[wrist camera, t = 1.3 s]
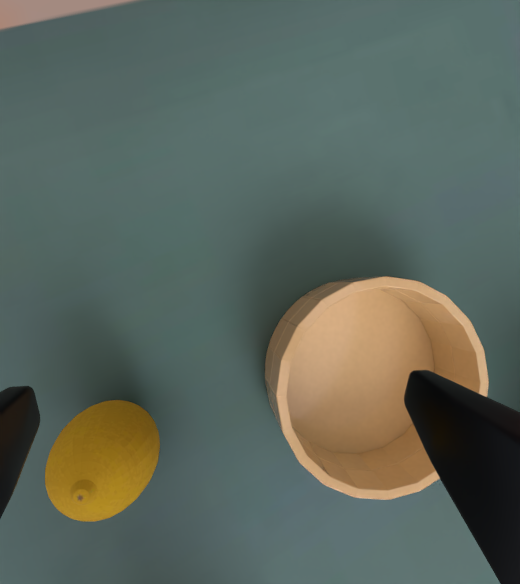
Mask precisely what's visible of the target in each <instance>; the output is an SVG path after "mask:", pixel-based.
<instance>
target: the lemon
mask: <svg viewBox="0 0 520 584" xmlns="http://www.w3.org/2000/svg"><path fill="white" fill-rule="evenodd" d="M159 449H160V441H159V432H158V429H157V427H156V424H155V422H154V420H153V419H152V417H151V416H150V415H149V413H148V412H147V411H145V410H144V409H143V408H142V407H140V406H139V405H136V404H134V403H132V402H129V401H122V400H112V401H104V402H101V403H98V404H95V405H93V406H91V407H89V408H87V409H86V410H84V411H83V412H81V413H79V414H78V415H77V416H75V417H74V418H73V419H72V420H71V421H70V422H69V423H68V424H67V425H66V426H65V428H64V429H63V430H62V431H61V433H60V434H59V436H58V438H57V440H56V441H55V443H54V445H53V447H52V449H51V451H50V454H49V457H48V461H47V465H46V468H45V485H46V489H47V492H48V496H49V498H50V500H51V501H52V503H53V505H54V506H55V507H56V508H57V509H58V510H59V511H60V512H61V513H62V514H64V515H66V516H68V517H70V518H72V519H75V520H79V521H98V520H102V519H106V518H110V517H112V516H113V515H115V514H117V513H119V512H121V511H123V510H124V509H125V508H126V507H127V506H129V505H130V504H131V503H132V502H133V501H134V500H136V499H137V497H138V496H139V495H140V494H141V492H142V491H143V490H144V488H145V487H146V486H147V484H148V483H149V481H150V479H151V477H152V475H153V472H154V470H155V468H156V465H157V462H158V457H159Z"/></svg>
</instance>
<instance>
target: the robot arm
mask: <svg viewBox="0 0 520 584" xmlns="http://www.w3.org/2000/svg"><path fill="white" fill-rule="evenodd" d="M404 404H405V407H406V409H407V411H408V414H409V416H410V418H411V420H412V422H413V425H414V427H415V429H416V431H417V433H418V436H419V438H420V440H421V442H422V444H423V447H424V449H425V451H426V453H427V455H428V457H429V459H430V461H431V463H432V465H433V467H434V469H435V470H436V472H437V474H438V476H439V477H440V479H441V481H442V483H443V484H444V486H445V488H446V490H447V491H448V493H449V495H450V497H451V498H452V500H453V502H454V503H455V505H456V507H457V509H458V510H459V512H460V514H461V516H462V517H463V519H464V521H465V523H466V524H467V526H468V528H469V530H470V531H471V533H472V535H473V536H474V538H475V540H476V542H477V543H478V545H479V547H480V549H481V550H482V552H483V554H484V556H485V557H486V559H487V561H488V562H489V564H490V566H491V568H492V569H493V571H494V573H495V575H496V576H497V578H498V580H499V582H500V583H501V584H520V412H518V411H516V410H513V409H511V408H509V407H507V406H505V405H503V404H501V403H498V402H496V401H494V400H492V399H490V398H488V397H485V396H483V395H481V394H479V393H477V392H475V391H472V390H470V389H468V388H466V387H464V386H462V385H460V384H457V383H455V382H453V381H451V380H449V379H447V378H444V377H442V376H440V375H438V374H436V373H434V372H431V371H429V370H413V371H412V372H411V373H410V374H409V377H408V381H407V386H406V390H405V394H404ZM39 424H40V414H39V409H38V405H37V401H36V397H35V393H34V390H33V389H32V388H31V387H29V386H19V387H9V388H7V389H5V390H3V391H1V392H0V518H1V516H2V514H3V512H4V510H5V508H6V506H7V504H8V502H9V500H10V498H11V496H12V494H13V491H14V489H15V487H16V484H17V482H18V479H19V477H20V474H21V471H22V469H23V466H24V464H25V461H26V458H27V456H28V453H29V451H30V448H31V446H32V443H33V440H34V438H35V435H36V433H37V430H38V427H39Z"/></svg>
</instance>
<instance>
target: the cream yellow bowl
mask: <svg viewBox="0 0 520 584" xmlns="http://www.w3.org/2000/svg"><path fill="white" fill-rule="evenodd" d="M413 370H429V371H431V372H434V373H436V374H438V375H440V376H442V377H444V378H447V379H449V380H451V381H453V382H455V383H457V384H460V385H462V386H464V387H466V388H468V389H470V390H472V391H475V392H477V393H479V394H481V395H483V396H485V397H487V392H488V385H489V379H488V372H487V366H486V359H485V352H484V348H483V346H482V344H481V342H480V340H479V338H478V336H477V334H476V332H475V330H474V327H473V325H472V323H471V321H470V320H469V319H468V318H467V317H466V316H465V314H464V313H463V312H462V311H461V310H460V309H459V308H458V307H457V306H456V305H455V304H454V303H453V302H452V301H451V300H450V299H449V298H448V297H447V296H446V295H444V294H442V293H440V292H438V291H437V290H435V289H433V288H431V287H429V286H427V285H425V284H423V283H421V282H419V281H415V280H408V279H402V278H395V277H388V276H380V277H359V278H350V279H344V280H337V281H334V282H329V283H326V284H324V285H322V286H319V287H317V288H315V289H313V290H312V291H310V292H308V293H307V294H305V295H304V296H302V297H301V298H300V299H299V300H297V301H296V302H295V303H294V304H293V305H292V306H291V307H290V308H289V309H288V310H287V312H286V313H285V314H284V316H283V317H282V318H281V320H280V321H279V323H278V325H277V327H276V328H275V330H274V332H273V335H272V337H271V340H270V342H269V346H268V350H267V354H266V362H265V382H266V390H267V394H268V397H269V403H270V406H271V408H272V410H273V413H274V415H275V417H276V419H277V421H278V423H279V425H280V428H281V430H282V432H283V434H284V436H285V437H286V439H287V441H288V443H289V445H290V447H291V448H292V450H293V452H294V454H295V456H296V458H297V459H298V461H299V463H300V464H301V465H303V466H304V467H305V468H306V469H307V470H308V471H309V472H310V473H311V474H313V475H314V476H315V477H316V478H317V479H318V480H319V481H320V482H321V483H322V484H324V485H326V486H328V487H330V488H333V489H335V490H338V491H340V492H342V493H345V494H347V495H350V496H352V497H356V498H366V499H384V500H388V499H389V500H390V499H393V498H397V497H400V496H404V495H408V494H411V493H415V492H419V491H420V490H423V489H424V488H426V487H427V486H429V485H430V484H432V483H433V482H435V481H436V480H438V479H440V477H439V476H438V474H437V472H436V470H435V469H434V467H433V465H432V463H431V461H430V459H429V457H428V455H427V453H426V451H425V449H424V447H423V444H422V442H421V440H420V438H419V436H418V433H417V431H416V429H415V427H414V425H413V422H412V420H411V418H410V416H409V414H408V411H407V409H406V407H405V404H404V394H405V390H406V386H407V381H408V377H409V374H410V373H411V372H412V371H413Z"/></svg>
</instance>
